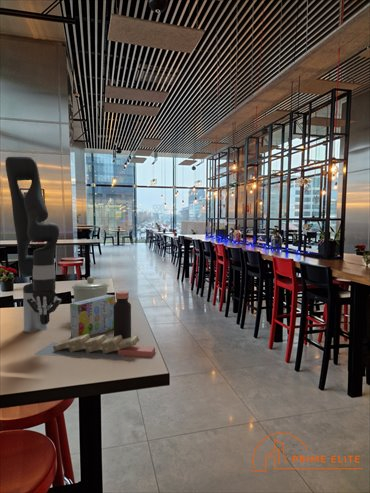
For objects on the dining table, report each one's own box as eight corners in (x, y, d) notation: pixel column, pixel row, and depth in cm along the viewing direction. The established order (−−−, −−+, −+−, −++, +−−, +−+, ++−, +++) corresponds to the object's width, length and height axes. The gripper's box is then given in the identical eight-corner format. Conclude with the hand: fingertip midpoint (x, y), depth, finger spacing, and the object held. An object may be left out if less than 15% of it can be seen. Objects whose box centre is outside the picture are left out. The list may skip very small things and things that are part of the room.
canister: (113, 313, 169) (113, 274, 168) (101, 323, 151) (100, 279, 150) (81, 312, 170) (81, 274, 170) (65, 321, 152) (64, 278, 152)
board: (34, 356, 109) (34, 354, 109) (53, 344, 121) (53, 342, 121) (122, 362, 105) (122, 359, 105) (133, 349, 116) (133, 346, 116)
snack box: (107, 326, 146) (107, 294, 145) (116, 328, 143) (116, 295, 142) (70, 339, 127) (69, 302, 127) (79, 341, 125) (79, 304, 124)
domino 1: (52, 346, 112) (82, 338, 110) (60, 341, 117) (89, 333, 115) (54, 351, 112) (84, 343, 110) (61, 346, 117) (90, 338, 115)
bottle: (123, 346, 119) (122, 294, 118) (110, 343, 123) (109, 292, 122) (134, 341, 125) (134, 291, 124) (121, 338, 128) (121, 290, 128)
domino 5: (117, 349, 108) (151, 351, 107) (122, 344, 113) (155, 346, 111) (117, 354, 108) (151, 356, 107) (122, 349, 113) (155, 351, 112)
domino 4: (101, 348, 109) (133, 340, 107) (107, 343, 114) (137, 335, 112) (103, 353, 109) (135, 345, 107) (109, 348, 114) (139, 340, 112)
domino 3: (85, 348, 110) (116, 339, 108) (91, 343, 115) (121, 334, 113) (86, 353, 110) (117, 344, 108) (92, 347, 115) (122, 339, 113)
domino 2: (68, 347, 111) (99, 338, 109) (75, 342, 116) (105, 334, 114) (70, 352, 111) (101, 343, 109) (77, 347, 116) (106, 339, 114)
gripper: (20, 278, 111) (21, 326, 112) (55, 279, 110) (56, 327, 110) (33, 275, 119) (34, 320, 119) (66, 276, 117) (67, 321, 118)
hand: (44, 323), depth 115 cm, fingers closed
